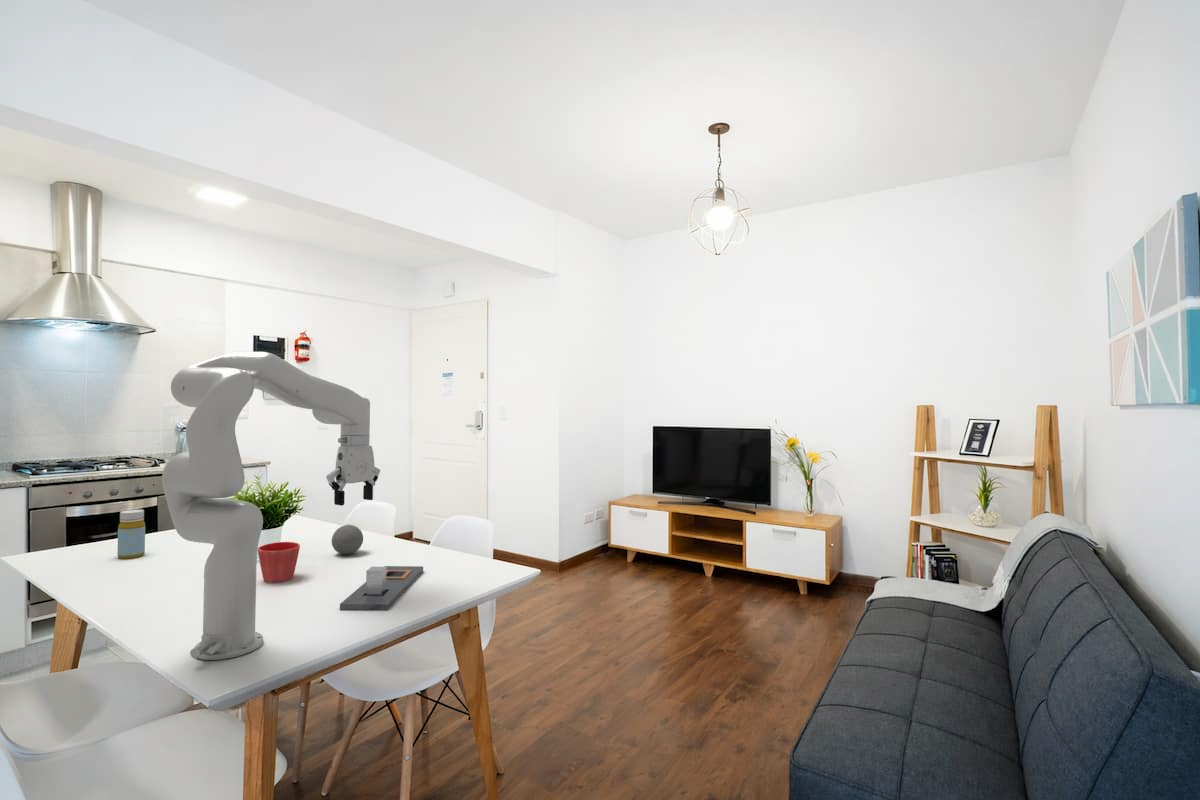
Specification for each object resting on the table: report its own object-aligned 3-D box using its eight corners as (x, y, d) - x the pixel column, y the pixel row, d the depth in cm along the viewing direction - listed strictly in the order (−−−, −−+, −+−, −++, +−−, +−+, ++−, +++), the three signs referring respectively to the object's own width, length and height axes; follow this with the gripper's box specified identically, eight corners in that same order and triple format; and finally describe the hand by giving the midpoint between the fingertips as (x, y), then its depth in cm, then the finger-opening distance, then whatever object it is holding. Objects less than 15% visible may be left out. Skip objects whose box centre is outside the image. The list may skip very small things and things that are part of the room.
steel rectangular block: (380, 600, 155) (381, 570, 155) (365, 600, 155) (366, 570, 155) (385, 595, 159) (386, 566, 159) (371, 595, 159) (371, 566, 159)
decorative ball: (325, 557, 196) (326, 527, 196) (340, 550, 206) (340, 521, 206) (354, 558, 195) (355, 528, 195) (367, 550, 205) (368, 522, 205)
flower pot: (287, 584, 167) (288, 551, 167) (249, 584, 167) (250, 550, 167) (306, 573, 177) (306, 542, 177) (270, 573, 177) (270, 541, 177)
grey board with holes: (387, 610, 148) (387, 603, 148) (339, 609, 148) (339, 602, 148) (423, 571, 182) (423, 565, 182) (384, 570, 182) (384, 565, 182)
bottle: (123, 554, 194) (124, 509, 194) (148, 553, 196) (149, 508, 196) (113, 560, 188) (114, 513, 188) (138, 558, 190) (139, 512, 190)
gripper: (338, 443, 153) (336, 508, 154) (388, 440, 169) (387, 499, 169) (318, 442, 157) (317, 505, 157) (370, 438, 172) (369, 496, 172)
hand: (354, 502), depth 163 cm, fingers open, 9 cm apart
